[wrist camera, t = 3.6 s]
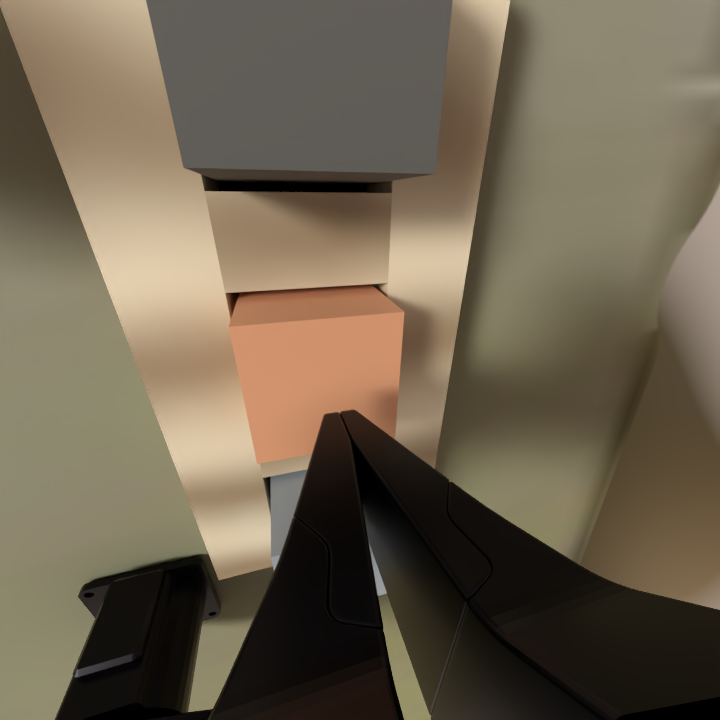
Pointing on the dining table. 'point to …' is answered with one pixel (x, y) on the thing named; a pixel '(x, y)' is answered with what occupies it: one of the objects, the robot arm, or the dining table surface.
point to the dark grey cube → (304, 87)
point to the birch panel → (248, 243)
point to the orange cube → (315, 362)
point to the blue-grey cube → (282, 512)
